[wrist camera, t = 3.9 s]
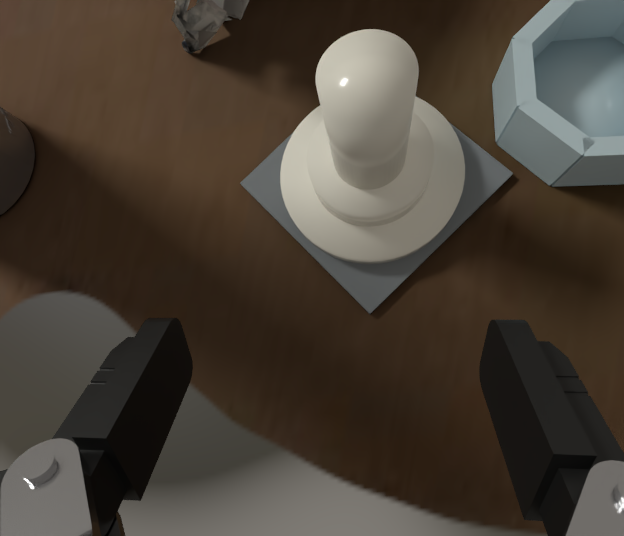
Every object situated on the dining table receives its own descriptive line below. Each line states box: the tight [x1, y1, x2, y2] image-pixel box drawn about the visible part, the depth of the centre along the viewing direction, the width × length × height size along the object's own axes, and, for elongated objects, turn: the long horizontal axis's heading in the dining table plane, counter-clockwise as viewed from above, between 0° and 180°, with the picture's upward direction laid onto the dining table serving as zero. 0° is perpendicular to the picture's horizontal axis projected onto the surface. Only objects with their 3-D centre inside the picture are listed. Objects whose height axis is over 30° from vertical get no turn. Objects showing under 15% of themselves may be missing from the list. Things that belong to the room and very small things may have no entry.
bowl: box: [492, 0, 624, 187], centre depth 23 cm, size 10×10×4 cm
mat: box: [240, 95, 513, 314], centre depth 26 cm, size 12×12×1 cm
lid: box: [280, 29, 465, 264], centre depth 21 cm, size 11×11×10 cm
